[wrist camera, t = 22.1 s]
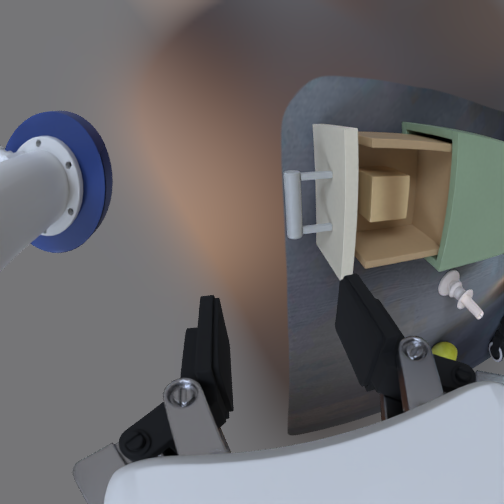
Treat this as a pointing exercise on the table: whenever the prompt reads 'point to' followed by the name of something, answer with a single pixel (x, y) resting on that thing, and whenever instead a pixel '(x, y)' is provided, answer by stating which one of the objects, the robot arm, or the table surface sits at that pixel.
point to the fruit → (445, 350)
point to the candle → (459, 292)
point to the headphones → (498, 344)
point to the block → (382, 193)
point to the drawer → (346, 197)
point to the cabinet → (469, 197)
